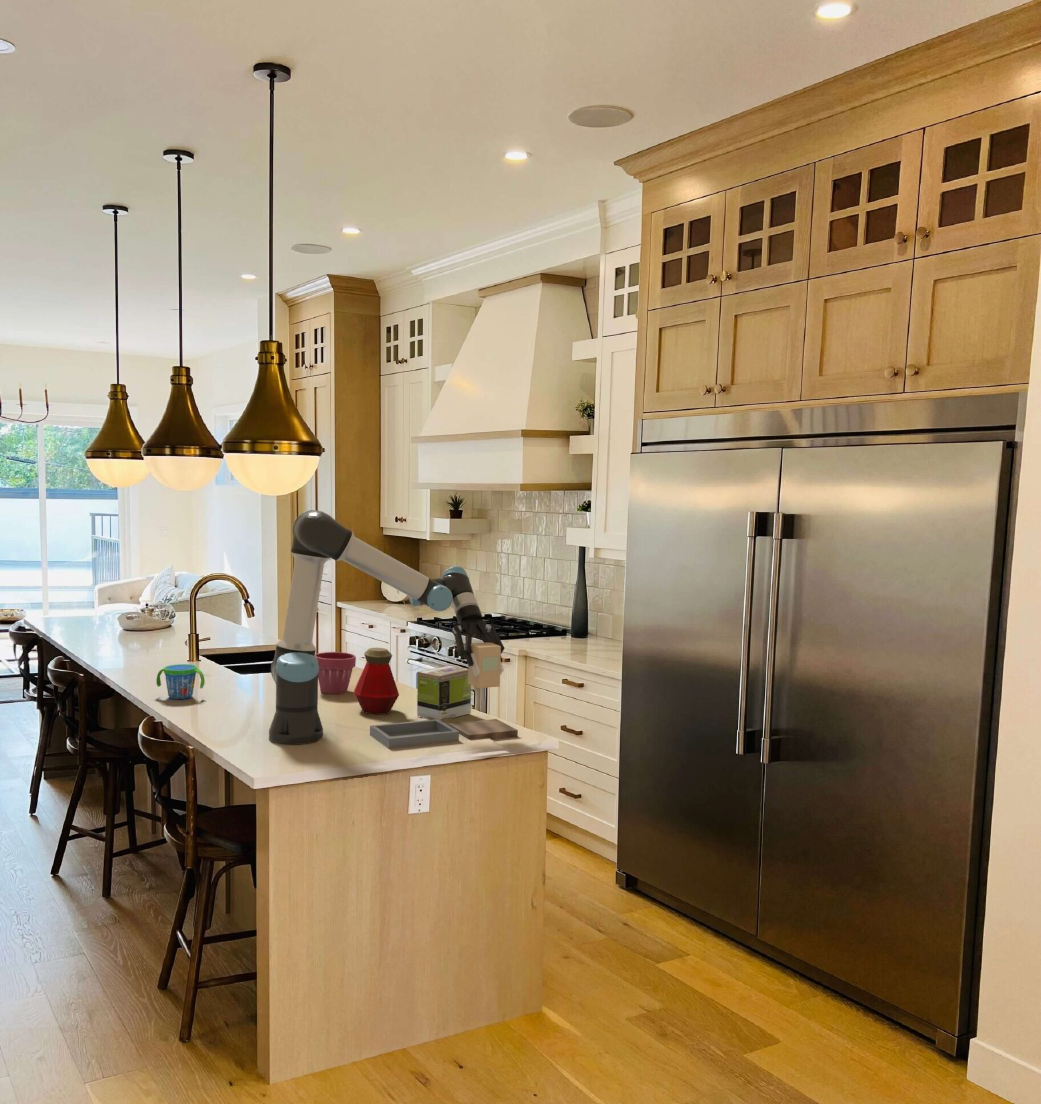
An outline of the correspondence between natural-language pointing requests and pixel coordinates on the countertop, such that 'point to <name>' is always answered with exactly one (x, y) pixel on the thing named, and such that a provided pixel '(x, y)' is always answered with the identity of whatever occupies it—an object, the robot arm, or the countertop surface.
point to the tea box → (443, 693)
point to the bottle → (376, 683)
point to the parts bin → (413, 733)
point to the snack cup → (180, 680)
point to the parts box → (485, 665)
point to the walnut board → (485, 729)
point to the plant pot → (335, 671)
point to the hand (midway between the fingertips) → (489, 673)
